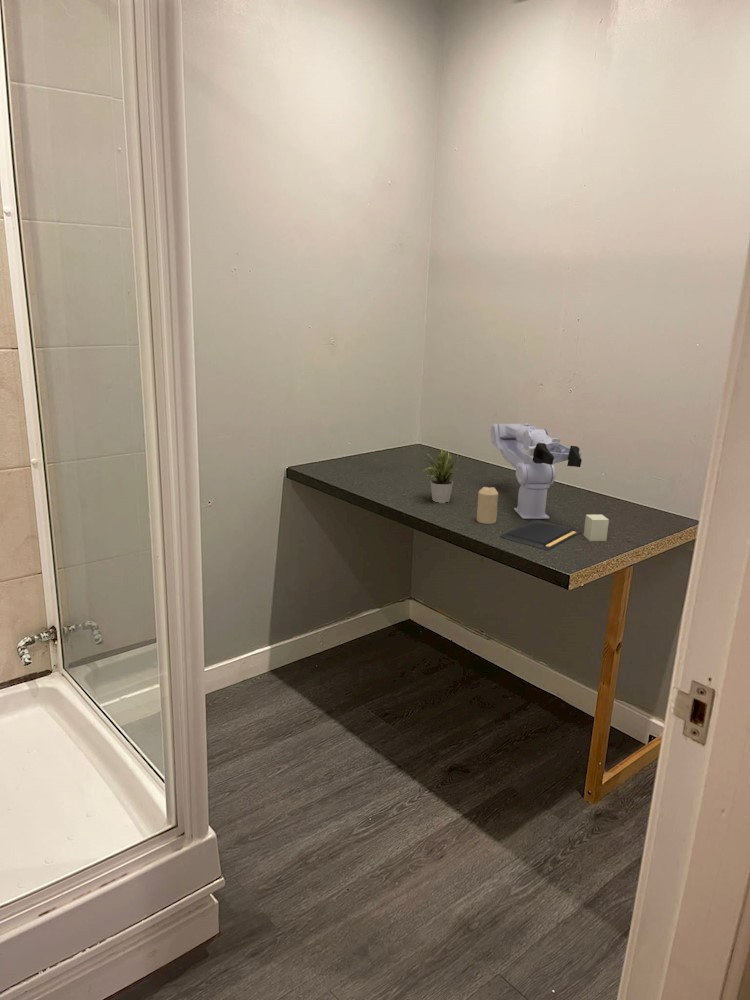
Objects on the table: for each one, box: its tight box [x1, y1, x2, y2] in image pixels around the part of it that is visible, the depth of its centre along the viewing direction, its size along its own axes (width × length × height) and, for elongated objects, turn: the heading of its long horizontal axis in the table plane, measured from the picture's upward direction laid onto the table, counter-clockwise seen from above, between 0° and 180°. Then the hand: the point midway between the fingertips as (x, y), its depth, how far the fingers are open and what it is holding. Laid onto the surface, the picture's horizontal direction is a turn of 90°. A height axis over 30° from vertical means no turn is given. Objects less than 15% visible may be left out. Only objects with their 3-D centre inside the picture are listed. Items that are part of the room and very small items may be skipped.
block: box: [583, 514, 610, 542], centre depth 191 cm, size 4×4×6 cm
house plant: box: [422, 449, 459, 504], centre depth 220 cm, size 14×14×16 cm
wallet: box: [499, 519, 582, 552], centre depth 193 cm, size 20×2×15 cm
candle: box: [476, 486, 499, 525], centre depth 202 cm, size 6×6×10 cm
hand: (565, 462), depth 185 cm, fingers open, 7 cm apart
